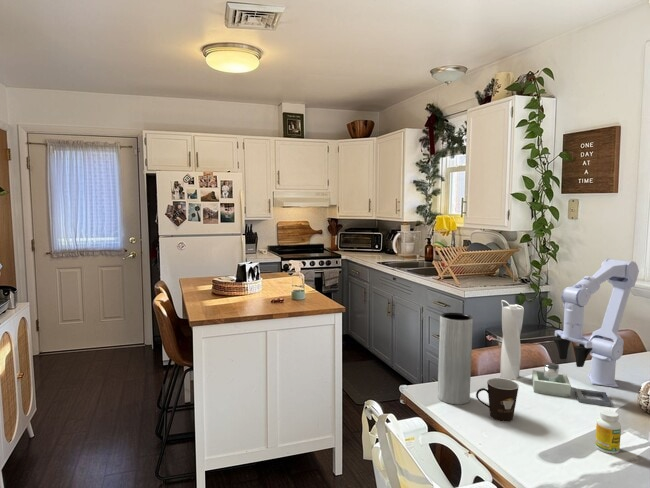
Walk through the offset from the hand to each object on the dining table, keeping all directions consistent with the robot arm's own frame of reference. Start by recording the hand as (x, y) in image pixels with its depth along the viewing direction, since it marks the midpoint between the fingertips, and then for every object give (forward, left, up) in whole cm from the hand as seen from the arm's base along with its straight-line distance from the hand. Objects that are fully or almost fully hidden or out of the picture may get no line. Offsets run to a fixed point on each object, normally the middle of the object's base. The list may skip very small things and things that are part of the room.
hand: (571, 362), depth 155 cm
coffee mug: (+30, -23, -10) cm, 39 cm away
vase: (+22, -36, -10) cm, 43 cm away
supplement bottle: (+39, +4, -10) cm, 40 cm away
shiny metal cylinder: (+1, -6, -9) cm, 11 cm away
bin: (+1, -6, -10) cm, 11 cm away
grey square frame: (+5, +6, -10) cm, 12 cm away
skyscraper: (-6, -19, -10) cm, 22 cm away
